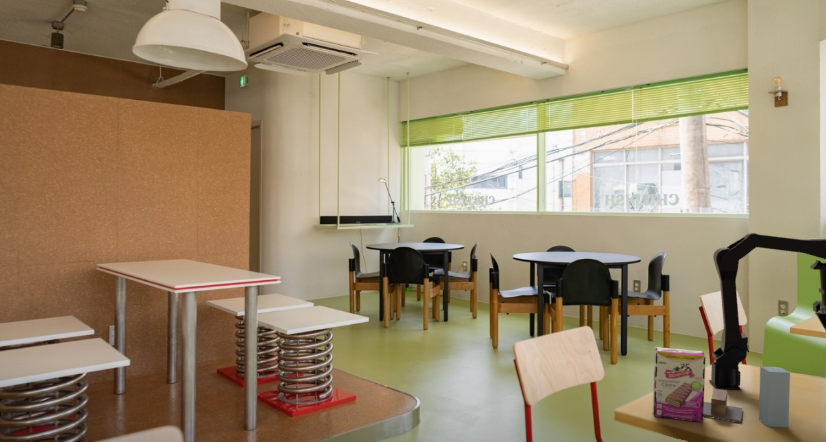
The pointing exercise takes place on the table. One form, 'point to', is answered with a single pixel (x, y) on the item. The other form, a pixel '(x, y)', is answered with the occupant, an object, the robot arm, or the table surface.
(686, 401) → the candy bar box
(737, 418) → the mat
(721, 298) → the robot arm
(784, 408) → the block
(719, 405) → the ridge
